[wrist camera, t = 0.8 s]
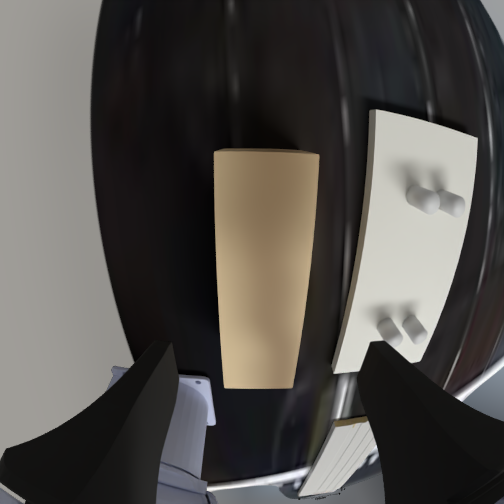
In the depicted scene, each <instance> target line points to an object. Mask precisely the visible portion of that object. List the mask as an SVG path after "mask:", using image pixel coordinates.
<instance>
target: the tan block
mask: <svg viewBox="0 0 504 504" xmlns="http://www.w3.org/2000/svg"><path fill="white" fill-rule="evenodd" d="M318 169H319V154H315V153H310V152H306V151H301V150H286V149H254V148H224V149H221V150H218V151H214V198H215V237H216V264H217V286H218V305H219V322H220V338H221V352H222V365H223V378H224V388H243V389H273V388H292V387H293V382H294V376H295V371H296V365H297V359H298V353H299V347H300V340H301V334H302V327H303V320H304V313H305V306H306V298H307V290H308V282H309V274H310V265H311V256H312V246H313V236H314V225H315V213H316V200H317V186H318Z"/></svg>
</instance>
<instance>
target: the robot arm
mask: <svg viewBox="0 0 504 504" xmlns="http://www.w3.org/2000/svg"><path fill="white" fill-rule="evenodd" d="M111 371H112V373H113V377H112V380H111V382H110V384H109V386H108V388H107V390H106V392H105V393H104V394H103V395H102V396H100V397H99V398H98V399H97V400H96V401H95V402H93V403H92V404H91V405H90V406H89V407H87V408H86V409H84V410H83V411H82V412H80V413H79V414H77V415H76V416H74V417H73V418H71V419H70V420H68V421H67V422H65V423H63V424H62V425H60V426H59V427H57V428H55V429H53V430H51V431H49V432H47V433H45V434H43V435H41V436H39V437H37V438H35V439H32V440H30V441H27V442H25V443H22V444H19V445H16V446H13V447H10V448H7V449H6V450H5V452H4V453H3V456H2V458H1V460H0V483H2V484H3V485H4V486H6V487H7V488H8V489H10V490H11V491H13V492H14V493H16V494H17V495H19V496H20V497H22V498H23V499H25V500H26V501H25V504H219V503H218V501H217V500H216V498H215V496H214V495H213V494H212V493H211V492H209V491H206V490H207V482H206V481H202V480H200V476H201V467H202V459H203V450H204V442H205V433H206V425H215V424H216V419H215V412H214V406H213V399H212V392H211V385H210V380H209V378H207V377H204V376H191V375H179V374H178V371H177V366H176V361H175V356H174V351H173V346H172V342H169V341H159V340H155V341H154V342H153V343H152V344H151V345H150V346H149V348H148V349H147V350H146V351H145V352H144V353H143V354H142V355H141V356H140V358H139V359H138V360H137V361H136V362H135V363H134V364H133V365H132V366H131V367H130V368H124V367H117V366H113V368H112V369H111ZM357 383H358V388H359V393H360V397H361V401H362V404H363V407H364V410H365V413H366V416H367V419H368V421H369V424H370V427H371V430H372V433H373V436H374V439H375V442H376V445H377V448H378V452H379V457H380V462H381V468H382V474H383V482H384V491H385V504H504V422H503V421H501V420H498V419H495V418H492V417H490V416H488V415H486V414H483V413H481V412H479V411H477V410H475V409H473V408H471V407H470V406H468V405H466V404H464V403H463V402H461V401H460V400H458V399H456V398H455V397H453V396H452V395H450V394H449V393H447V392H446V391H445V390H443V389H442V388H441V387H439V386H438V385H437V384H435V383H434V382H433V381H431V380H430V379H429V378H428V377H427V376H425V375H424V374H423V373H422V372H421V371H419V370H418V369H417V368H416V367H415V366H414V365H412V364H411V363H410V362H409V361H408V360H407V359H406V358H405V357H403V356H402V355H401V354H400V353H399V352H398V351H397V350H395V349H394V348H393V347H392V346H391V345H390V344H388V343H387V342H386V341H385V340H381V341H371V342H370V344H369V347H368V349H367V352H366V355H365V358H364V360H363V363H362V366H361V368H360V371H359V373H358V376H357ZM0 504H24V503H22V502H20V501H19V500H17V499H16V498H14V497H13V496H11V495H10V494H9V493H7V492H6V491H4V490H3V489H1V488H0Z"/></svg>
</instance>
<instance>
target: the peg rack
mask: <svg viewBox="0 0 504 504" xmlns="http://www.w3.org/2000/svg"><path fill="white" fill-rule="evenodd" d="M477 141H478V138H475V137H472V136H470V135H467V134H464V133H461V132H459V131H456V130H453V129H450V128H447V127H443V126H440V125H437V124H434V123H430V122H427V121H423V120H420V119H416V118H412V117H408V116H404V115H400V114H395V113H391V112H386V111H382V110H377V109H375V110H370V111H369V138H368V156H367V170H366V181H365V192H364V201H363V210H362V218H361V225H360V232H359V239H358V246H357V252H356V258H355V264H354V269H353V275H352V280H351V285H350V290H349V295H348V300H347V305H346V309H345V314H344V318H343V323H342V327H341V331H340V335H339V339H338V343H337V347H336V351H335V354H334V358H333V362H332V365H331V366H332V369H333V372H334V374H335V373H345V372H355V371H360V368H361V366H362V363H363V360H364V358H365V355H366V352H367V349H368V347H369V344H370V342H371V341H381V340H385V341H386V342H387V343H388V344H390V345H391V346H392V347H393V348H394V349H395V350H397V351H398V352H399V353H400V354H401V355H402V356H403V357H405V358H406V359H407V360H408V361H409V362H410V363H413V362H419V361H420V360H421V358H422V356H423V354H424V352H425V350H426V348H427V345H428V343H429V341H430V339H431V336H432V334H433V332H434V329H435V327H436V325H437V322H438V320H439V317H440V314H441V312H442V309H443V307H444V304H445V301H446V298H447V295H448V292H449V289H450V286H451V283H452V280H453V277H454V274H455V270H456V267H457V263H458V260H459V256H460V252H461V249H462V244H463V240H464V236H465V232H466V227H467V222H468V217H469V212H470V206H471V200H472V193H473V186H474V178H475V169H476V157H477Z"/></svg>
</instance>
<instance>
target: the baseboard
mask: <svg viewBox="0 0 504 504" xmlns="http://www.w3.org/2000/svg"><path fill="white" fill-rule="evenodd" d="M375 445H376V442H375V439H374V436H373V433H372V430H371V427H370V424H369V421H368V419H367V416H365V417H359V418H353V419H346V420H339V421H334V422H333V424H332V427H331V429H330V431H329V433H328V435H327V438H326V440H325V442H324V444H323V446H322V448H321V450H320V452H319V454H318V456H317V458H316V460H315V462H314V464H313V466H312V468H311V470H310V472H309V474H308V476H307V477H306V479H305V481H304V483H303V485H302V486H301V488H300V490H299V492H298V496H306V495H312V494H319V493H326V492H334V491H335V490H336V489H339V488H340V487H341V486H342V485H343V484H344V483H345V482H346V481H347V480H348V478H349V477H350V476H351V475H352V474H353V473H354V472H355V470H356V469H357V468H358V467H359V466H360V464H361V463H362V462H363V461H364V460H365V458H366V457H367V456H368V455H369V453H370V452H371V451H372V449H373V448H374V447H375ZM341 488H342V487H341ZM344 490H345V489H344ZM339 494H340V493H339ZM323 498H325V497H323ZM318 499H319V498H318ZM299 500H300V498H299Z"/></svg>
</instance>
